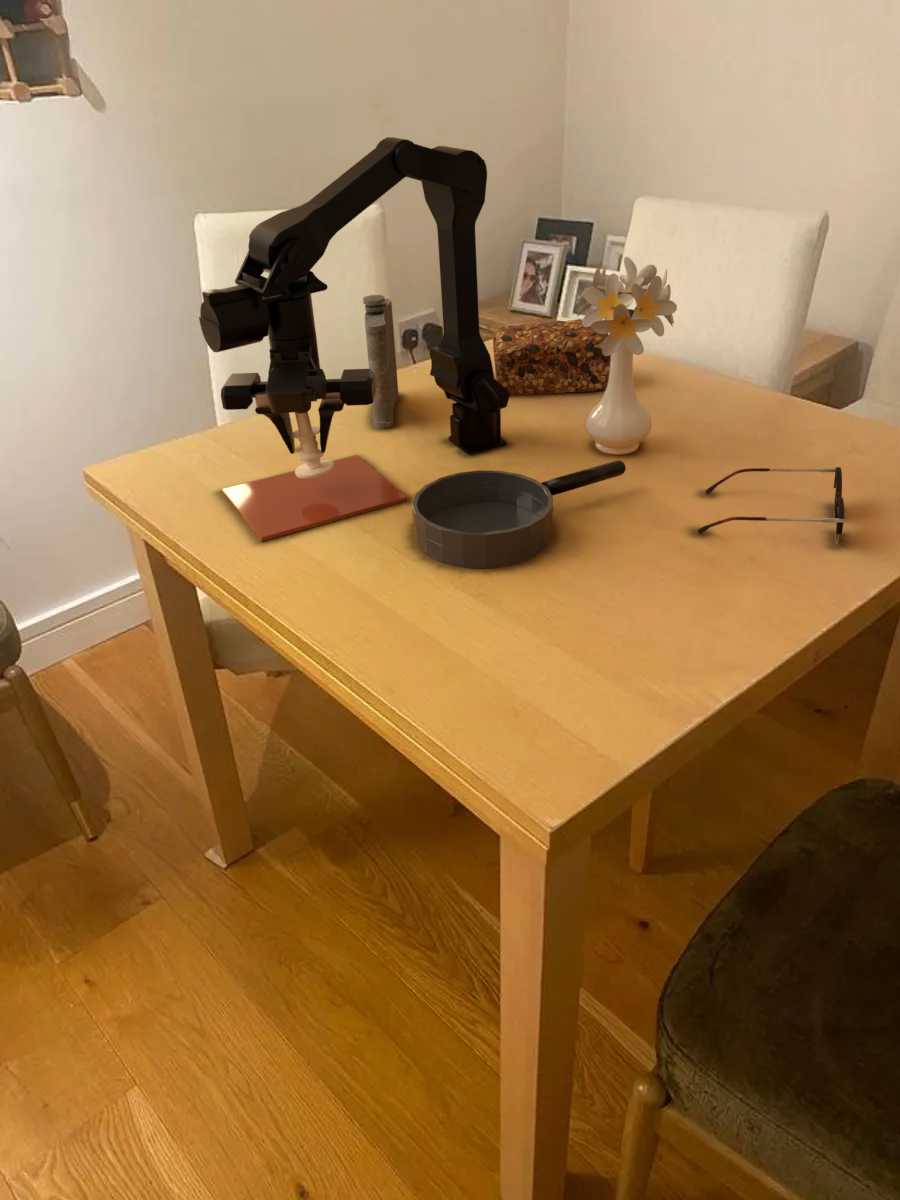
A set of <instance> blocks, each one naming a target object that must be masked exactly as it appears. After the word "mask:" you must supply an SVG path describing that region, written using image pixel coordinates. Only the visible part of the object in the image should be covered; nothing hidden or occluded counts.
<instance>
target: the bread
mask: <svg viewBox="0 0 900 1200" xmlns="http://www.w3.org/2000/svg"><path fill="white" fill-rule="evenodd" d="M582 320H583V318H582V319H581V318H577V319H570V320H552V321H549V322H548V321H544V322H540V323H523V324H517V325H516V324H515V325H507V326H505V325H504V326H502V327H500V328H498V329H497V330H495V331H494V332H493V335H492V336H493V338H492V348H493V349H492V350H493V361H494V369H495V370H494V375H495V380H496V381H498V382H499V383H500V384H501V385H502V386H503V387H504V388H506V389H507V390H508V391H509V392H510V395H520V396H521V395H527V394H528V395H540V394H559V393H561V394H563V393H567V392H568V393H569V392H570V393H585V392H595V391H597V390H599V391H600V390H601V391H604V390H606V388H607V384H608V379H609V372H610V361H611V355H610V356H605V355H603V354H602V347H603V344H604V342H605V340H606V338H607V337H608V335H609V333H608V334H600V333H597V332H595V331H593V330H592V329H591V326H590V327H583V325H582Z"/></svg>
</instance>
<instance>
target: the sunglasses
mask: <svg viewBox="0 0 900 1200" xmlns="http://www.w3.org/2000/svg"><path fill="white" fill-rule="evenodd" d="M750 472H760V473H761V472H762V473H763V472H821V473H834V481H833V489H835V491H834V501H833V502H834V503H833V515H834V517H823V518H794V517H793V518H792V517H791V518H790V517H765V516H730V517H727V518H723V519H720V520H717V521H714V522H711V523H708V524H706V525H703V526H702V527H700V528H698V529H697V532H698V533H699V534H700V535H701V534H703V533H705V532H706V531H708V530H709V529H711V528H713V527H716V526H719V525H721V524H724V523H728V522H731V521H755V522H756V521H757V522H758V521H760V522H761V521H762V522H763V521H764V522H770V521H771V522H813V523H815V522H816V523H818V522H820V523H835V544H839V541H840V535H843V530H844V523H845V502H844V498H843V471H842V468H841V467H840V466H836V467H834V468H833V467H832V468H830V467H829V468H825V467H823V468H774V467H773V468H772V467H771V468H770V467H769V468H768V467H767V468H765V467H764V468H763V467H759V468H758V467H754V468H753V467H752V468H751V467H750V468H749V467H748V468H742V469H737V470H735V471H733V472H731V473H730V474H728V475H726V476H725V477H723V478H722V479H720V480H718V481H717V482H715V483H713V484H711V485H710V486H709V487H708V488H707V489H705V491H704V493H705V494H706V495H710V494H711V493H712V492H713V491H714V490H715V489H716V488H717V487H718V486H719V485H721V484H722V483H724V482H726V481H728V480H729V479H730V478H732V477H734V476H736V475H738V474H741V473H750Z"/></svg>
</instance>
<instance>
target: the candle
mask: <svg viewBox="0 0 900 1200" xmlns="http://www.w3.org/2000/svg"><path fill="white" fill-rule="evenodd" d="M294 415H295V419H296V424H297V428H298V429H297V430H295V431H293V433H292V435H291V436H292V437H293V438H294V439H298V441H299V442H300V445H299V446H300V449H301V451H302V452H301V453H300V454H299V455H298V458H299V460H300V461H302V462H305V463H302V464H299V466H297V467H296V468H295V469H294V471H295V475H296V476H297V477H299V478H303V479H310V478H317V477H321V476H324V475H326V474H328V473H330V472H331V471H333V469H334V463H333V462H332V461H333V460H330V459H321V458H322V457H323V456H324V454H325V453H322V452H321V448H319V443H318V441H317V435H318V434H320V426H319V427H318V426H312V423H311V420H310V416H309V411H308V412H306V413H297V412H294Z"/></svg>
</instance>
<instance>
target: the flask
mask: <svg viewBox="0 0 900 1200" xmlns="http://www.w3.org/2000/svg"><path fill="white" fill-rule="evenodd" d="M362 303H363V305H364V310H365V313H364V328H365V338H366V339H365V340H366V350H367V361H368V369H371V370H372V371H373V372H374V373H375V376H376V387H377V389H376V393H375V397H374V401H373V403H372V404H371V406H372V416H373V424H374V427H375V428H376V429H378V430H388V429H390V428H391V429H392V428H393V427H394V426H395V424H394V407H395V404H396V403H397V401H398V400H399V397H400V395H399V394H400V393H399V384H398V383H399V381H398V369H397V356H396V345H395V343H396V342H395V329H394V328H395V327H394V316H393V303H392V299H390V298H386V297H385V296H384V295H382V294H370V295H366V296H364V297H363V298H362Z"/></svg>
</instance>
